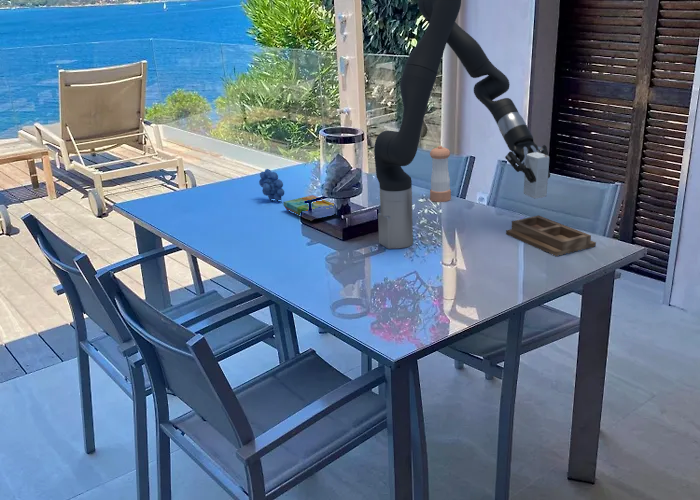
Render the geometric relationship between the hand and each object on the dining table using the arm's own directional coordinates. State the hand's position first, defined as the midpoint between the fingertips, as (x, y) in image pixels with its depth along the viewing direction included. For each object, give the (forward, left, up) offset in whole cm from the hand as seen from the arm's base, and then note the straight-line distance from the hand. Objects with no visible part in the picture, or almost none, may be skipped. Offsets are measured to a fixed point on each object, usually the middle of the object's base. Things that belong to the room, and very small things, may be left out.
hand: (540, 179), depth 196 cm
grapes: (-55, +83, -17) cm, 101 cm away
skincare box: (0, +2, -5) cm, 6 cm away
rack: (+1, -4, -17) cm, 18 cm away
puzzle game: (-47, +59, -18) cm, 78 cm away
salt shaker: (-3, +49, -17) cm, 52 cm away
